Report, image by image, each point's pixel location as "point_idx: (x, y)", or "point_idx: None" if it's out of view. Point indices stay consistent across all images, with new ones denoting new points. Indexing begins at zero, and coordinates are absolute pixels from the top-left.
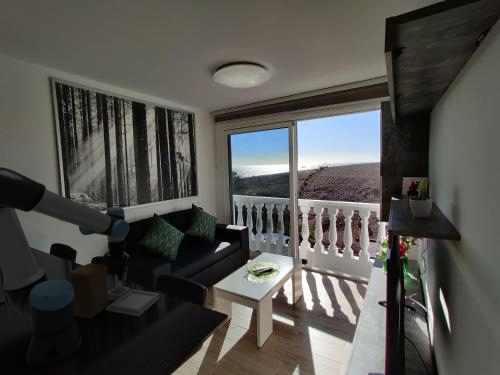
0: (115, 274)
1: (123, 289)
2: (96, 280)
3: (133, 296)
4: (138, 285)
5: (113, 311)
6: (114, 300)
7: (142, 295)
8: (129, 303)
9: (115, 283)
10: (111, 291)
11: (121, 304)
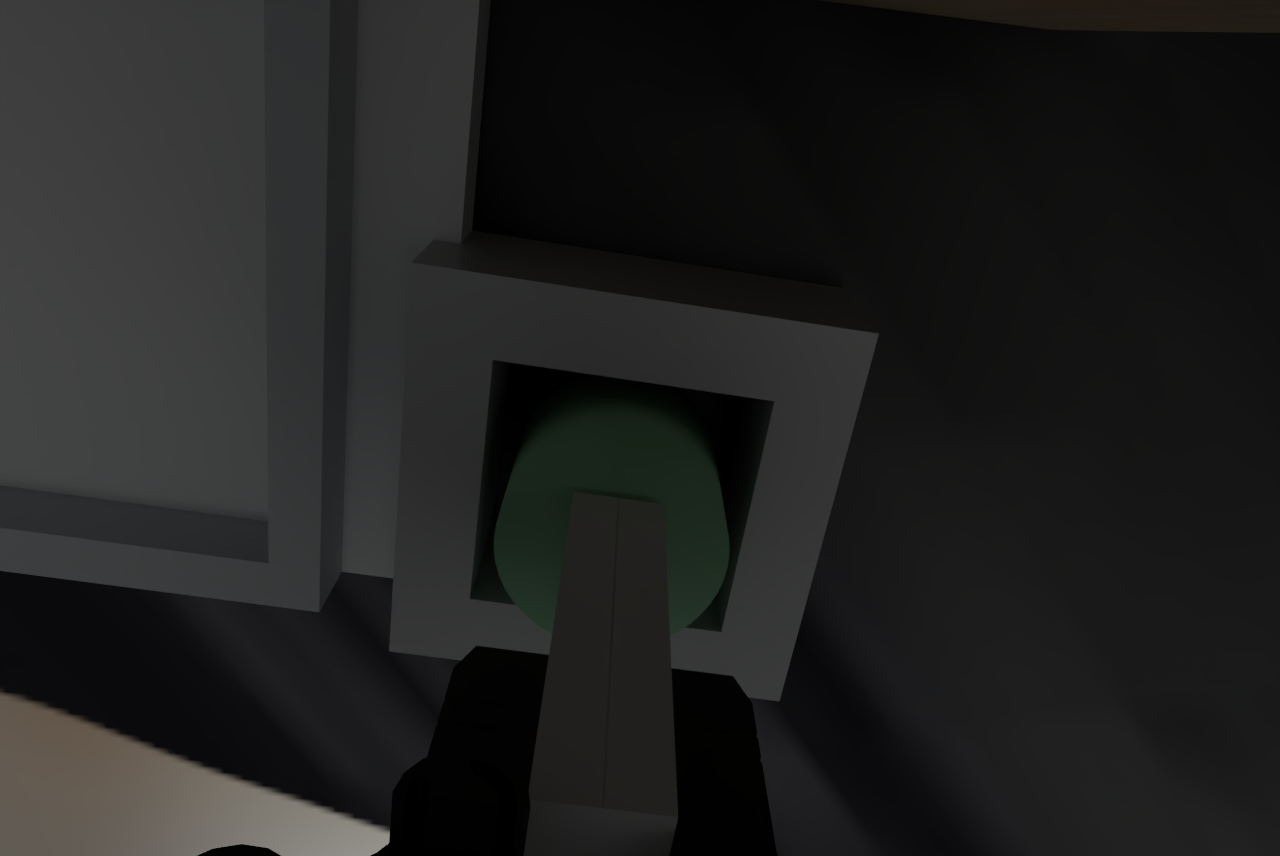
0: (661, 853)
1: None
2: None
3: (185, 403)
4: None
5: None
6: (578, 249)
7: (16, 466)
8: (28, 79)
9: (645, 576)
10: (764, 449)
11: (196, 4)
